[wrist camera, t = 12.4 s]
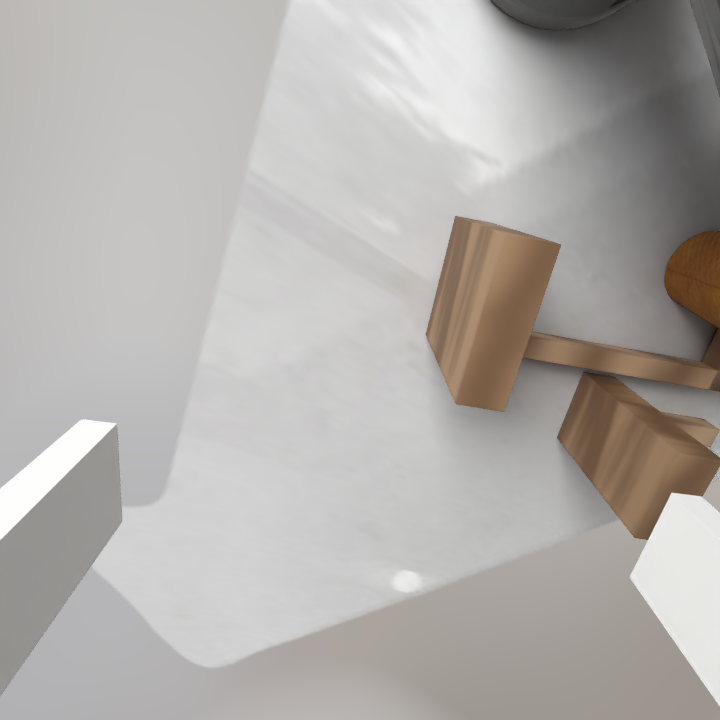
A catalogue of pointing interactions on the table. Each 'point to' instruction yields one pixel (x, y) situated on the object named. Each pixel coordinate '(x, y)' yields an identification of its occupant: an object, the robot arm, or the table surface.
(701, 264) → the disposable coffee cup
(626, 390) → the wooden mallet
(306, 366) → the table surface
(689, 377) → the bent wooden rail
